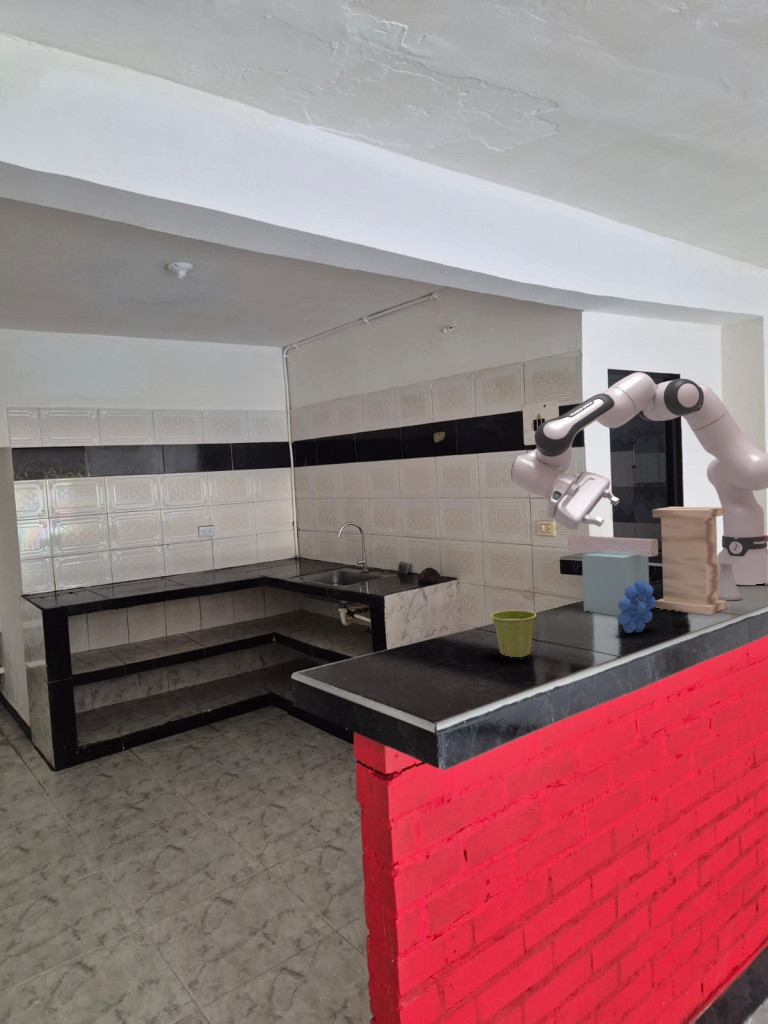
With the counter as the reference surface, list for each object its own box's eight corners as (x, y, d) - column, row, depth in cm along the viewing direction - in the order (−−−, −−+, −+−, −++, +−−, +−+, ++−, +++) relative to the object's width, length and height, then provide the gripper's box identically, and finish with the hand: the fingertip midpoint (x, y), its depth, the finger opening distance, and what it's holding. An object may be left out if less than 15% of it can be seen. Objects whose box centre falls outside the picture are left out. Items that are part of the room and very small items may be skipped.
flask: (747, 600, 183) (746, 563, 182) (719, 601, 183) (719, 564, 182) (733, 595, 190) (732, 560, 190) (707, 596, 190) (706, 561, 190)
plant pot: (483, 653, 145) (482, 613, 145) (521, 647, 149) (520, 607, 148) (507, 664, 137) (505, 621, 136) (547, 657, 140) (545, 615, 140)
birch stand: (673, 602, 186) (671, 506, 184) (726, 608, 175) (724, 507, 173) (655, 608, 179) (652, 509, 177) (709, 615, 169) (706, 510, 167)
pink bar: (575, 549, 190) (574, 535, 190) (658, 555, 172) (657, 539, 172) (568, 551, 188) (567, 536, 188) (651, 556, 170) (650, 540, 169)
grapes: (639, 625, 163) (637, 575, 162) (663, 630, 157) (662, 578, 156) (605, 633, 157) (603, 581, 156) (629, 638, 151) (627, 585, 150)
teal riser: (608, 603, 188) (606, 549, 187) (649, 608, 179) (648, 552, 178) (583, 611, 181) (581, 554, 180) (625, 617, 171) (623, 557, 170)
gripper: (579, 477, 197) (624, 498, 191) (544, 519, 186) (590, 543, 180) (583, 461, 192) (629, 482, 186) (547, 504, 181) (595, 527, 175)
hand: (610, 512), depth 183 cm, fingers open, 8 cm apart
